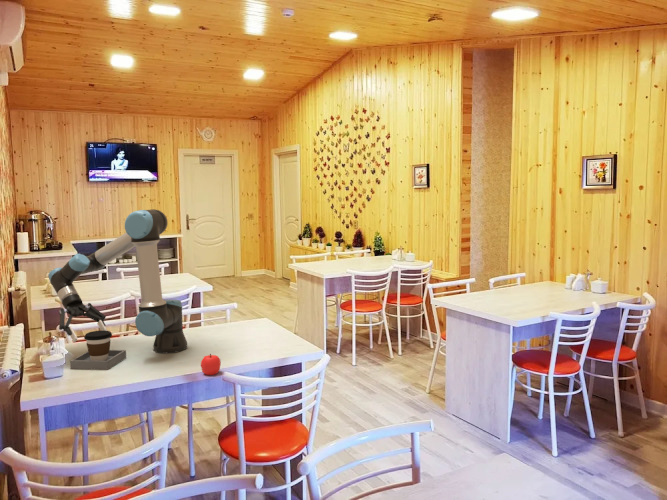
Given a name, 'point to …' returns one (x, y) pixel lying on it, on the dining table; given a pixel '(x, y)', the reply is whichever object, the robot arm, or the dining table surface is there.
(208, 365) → the apple
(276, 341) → the dining table surface
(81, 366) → the holder tray
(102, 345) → the coffee cup
